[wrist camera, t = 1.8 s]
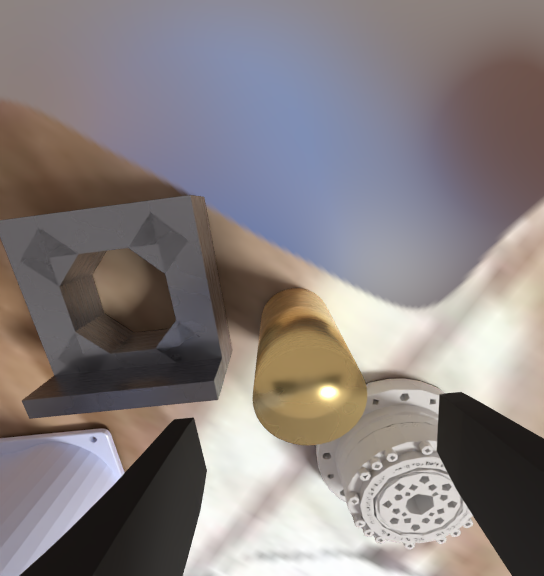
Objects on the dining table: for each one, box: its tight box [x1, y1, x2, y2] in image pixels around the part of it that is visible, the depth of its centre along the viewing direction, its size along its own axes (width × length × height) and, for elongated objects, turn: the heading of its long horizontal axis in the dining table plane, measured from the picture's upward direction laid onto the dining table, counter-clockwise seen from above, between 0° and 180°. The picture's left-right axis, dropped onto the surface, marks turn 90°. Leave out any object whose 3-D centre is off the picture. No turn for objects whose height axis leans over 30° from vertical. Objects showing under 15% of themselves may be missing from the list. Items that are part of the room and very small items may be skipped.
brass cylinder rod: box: [253, 288, 367, 445], centre depth 13 cm, size 4×4×7 cm
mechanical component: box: [316, 379, 473, 549], centre depth 17 cm, size 10×4×10 cm
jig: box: [0, 195, 232, 419], centre depth 14 cm, size 9×9×4 cm
